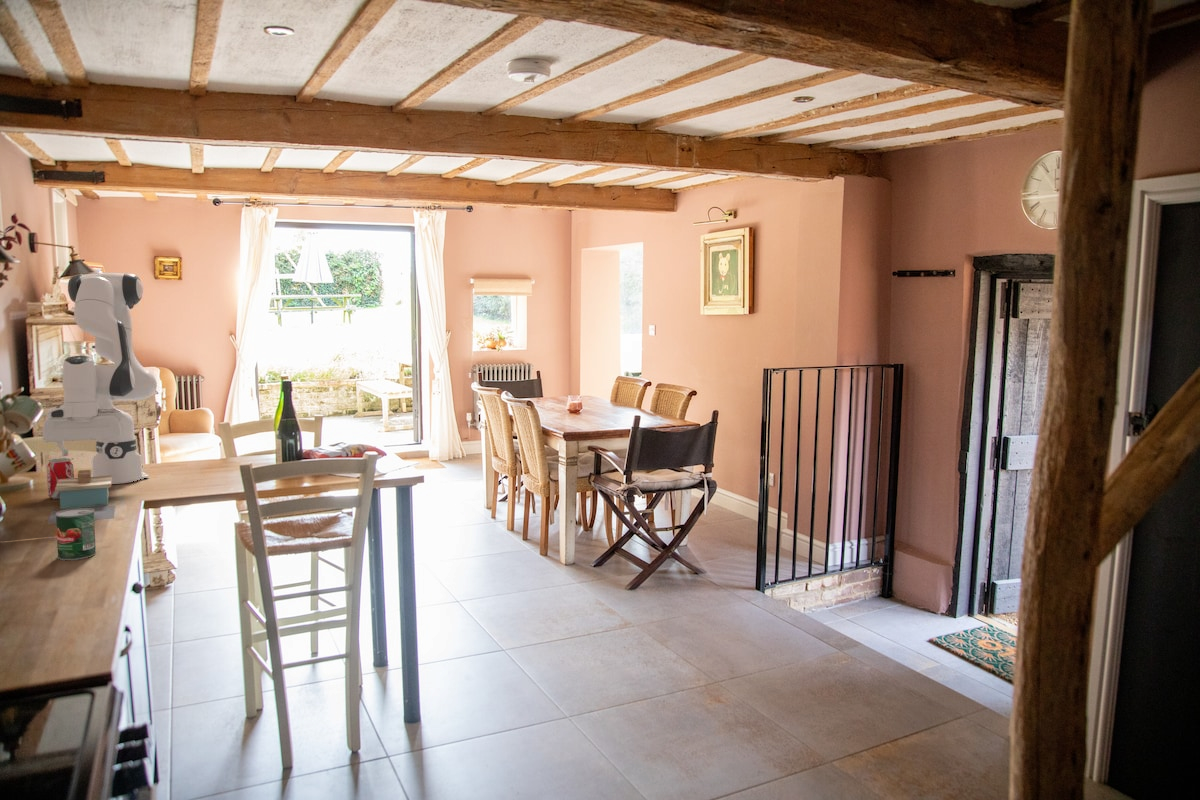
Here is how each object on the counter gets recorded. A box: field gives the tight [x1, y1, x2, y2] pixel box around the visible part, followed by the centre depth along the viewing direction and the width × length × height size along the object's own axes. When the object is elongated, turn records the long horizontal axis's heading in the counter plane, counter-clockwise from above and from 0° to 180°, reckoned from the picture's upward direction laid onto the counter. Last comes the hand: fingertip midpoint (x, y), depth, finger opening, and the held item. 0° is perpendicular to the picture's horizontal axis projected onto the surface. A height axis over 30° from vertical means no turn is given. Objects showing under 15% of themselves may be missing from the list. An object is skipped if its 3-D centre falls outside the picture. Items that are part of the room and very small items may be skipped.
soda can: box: [46, 457, 75, 500], centre depth 255 cm, size 7×7×12 cm
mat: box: [46, 505, 116, 525], centre depth 234 cm, size 16×16×1 cm
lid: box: [55, 469, 112, 491], centre depth 247 cm, size 14×14×4 cm
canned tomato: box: [55, 507, 97, 561], centre depth 197 cm, size 8×8×11 cm
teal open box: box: [59, 487, 110, 510], centre depth 247 cm, size 12×12×6 cm
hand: (83, 454), depth 247 cm, fingers open, 8 cm apart
